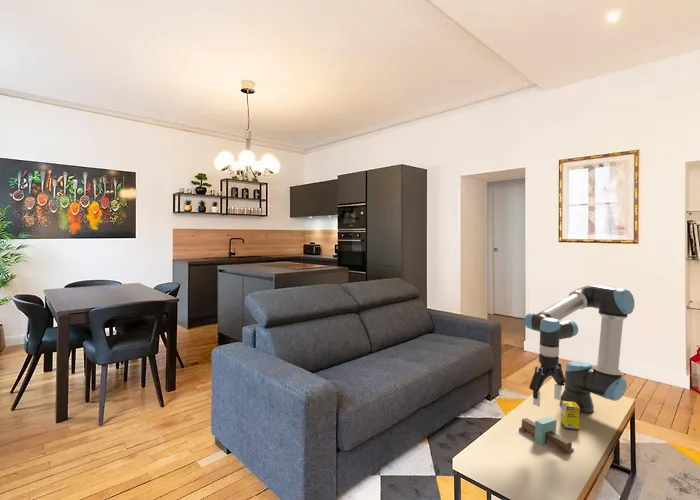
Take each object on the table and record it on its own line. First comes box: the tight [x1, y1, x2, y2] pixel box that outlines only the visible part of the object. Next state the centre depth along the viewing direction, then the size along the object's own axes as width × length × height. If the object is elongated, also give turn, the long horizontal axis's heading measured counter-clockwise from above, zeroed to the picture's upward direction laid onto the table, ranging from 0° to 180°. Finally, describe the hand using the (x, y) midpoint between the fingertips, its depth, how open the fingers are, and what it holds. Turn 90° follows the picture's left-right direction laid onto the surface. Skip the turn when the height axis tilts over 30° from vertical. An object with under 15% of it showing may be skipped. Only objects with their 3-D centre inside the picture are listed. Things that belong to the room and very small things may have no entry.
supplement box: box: [560, 401, 581, 431], centre depth 179 cm, size 6×6×11 cm
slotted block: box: [534, 415, 557, 445], centre depth 167 cm, size 9×4×9 cm, turn 116°
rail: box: [518, 417, 575, 456], centre depth 167 cm, size 7×22×4 cm, turn 26°
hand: (547, 402), depth 166 cm, fingers open, 13 cm apart
